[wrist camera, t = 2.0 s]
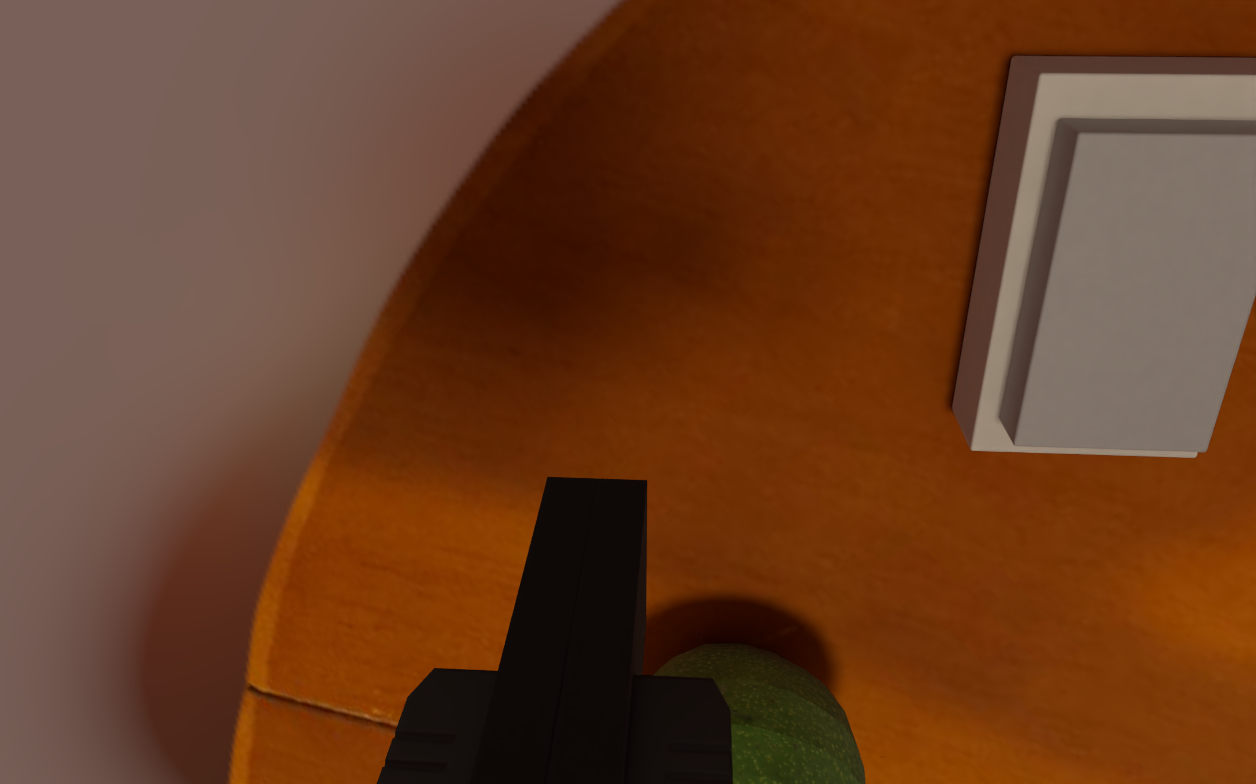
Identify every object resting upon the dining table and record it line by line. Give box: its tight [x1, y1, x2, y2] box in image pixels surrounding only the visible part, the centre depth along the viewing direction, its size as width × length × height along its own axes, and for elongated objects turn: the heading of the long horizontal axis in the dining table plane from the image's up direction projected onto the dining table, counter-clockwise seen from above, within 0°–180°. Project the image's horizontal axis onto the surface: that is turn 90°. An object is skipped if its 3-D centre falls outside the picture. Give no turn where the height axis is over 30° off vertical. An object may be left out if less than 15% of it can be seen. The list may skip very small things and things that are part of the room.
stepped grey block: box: [952, 56, 1256, 458], centre depth 25 cm, size 10×6×4 cm, turn 0°
